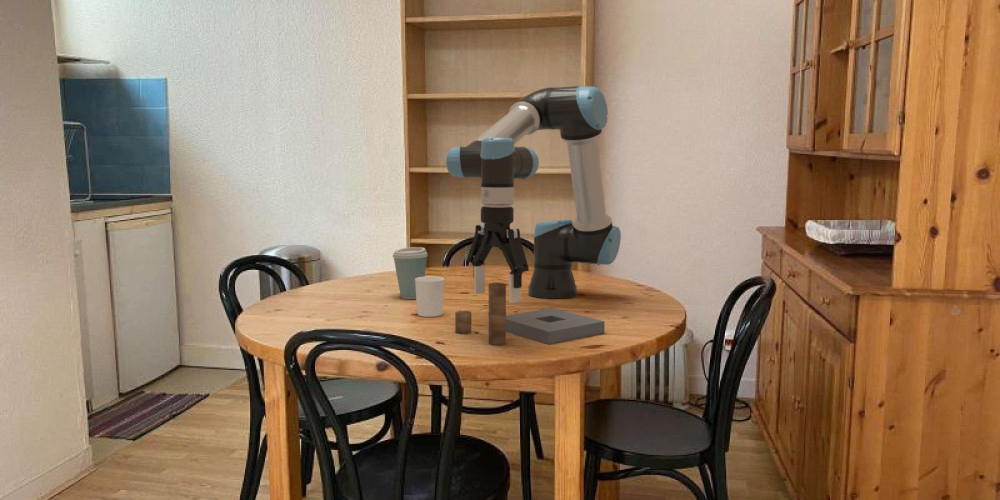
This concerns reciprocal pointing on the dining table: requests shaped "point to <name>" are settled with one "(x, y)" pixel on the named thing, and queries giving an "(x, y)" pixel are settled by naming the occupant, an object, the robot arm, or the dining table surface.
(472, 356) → the dining table surface
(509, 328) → the hole plate
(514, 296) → the robot arm
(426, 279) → the white cup
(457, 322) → the short pin
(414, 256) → the disposable coffee cup
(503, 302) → the tall pin
